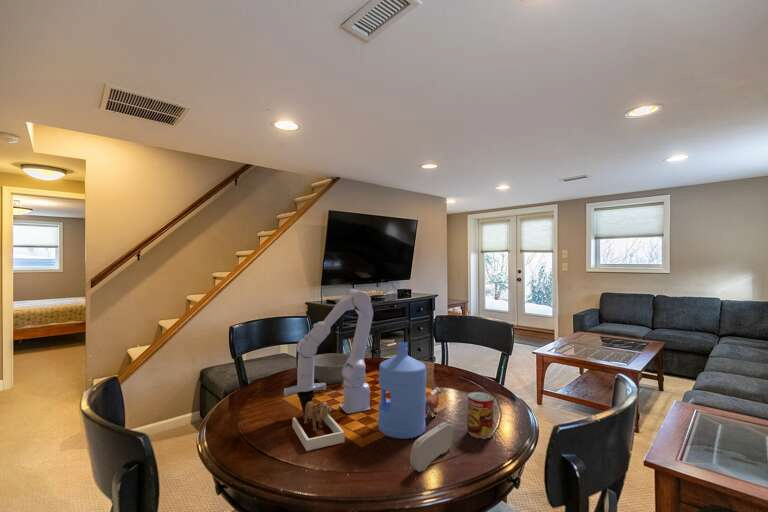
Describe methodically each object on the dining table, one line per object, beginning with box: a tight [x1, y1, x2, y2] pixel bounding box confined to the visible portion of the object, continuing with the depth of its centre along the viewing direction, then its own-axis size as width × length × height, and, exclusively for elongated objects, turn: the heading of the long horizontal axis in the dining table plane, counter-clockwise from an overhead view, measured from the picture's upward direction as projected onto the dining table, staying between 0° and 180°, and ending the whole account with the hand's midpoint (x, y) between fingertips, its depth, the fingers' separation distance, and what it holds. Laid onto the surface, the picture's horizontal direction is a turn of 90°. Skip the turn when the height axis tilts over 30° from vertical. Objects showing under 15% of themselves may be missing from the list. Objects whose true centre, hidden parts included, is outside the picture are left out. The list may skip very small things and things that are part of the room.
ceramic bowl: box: [314, 352, 350, 385], centre depth 165 cm, size 22×23×10 cm
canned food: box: [467, 391, 494, 435], centre depth 116 cm, size 8×8×12 cm
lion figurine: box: [301, 401, 333, 431], centre depth 120 cm, size 15×5×9 cm, turn 46°
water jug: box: [377, 341, 427, 440], centre depth 119 cm, size 16×16×28 cm
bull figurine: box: [425, 387, 443, 419], centre depth 130 cm, size 4×13×8 cm, turn 155°
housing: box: [292, 414, 346, 452], centre depth 113 cm, size 12×17×3 cm
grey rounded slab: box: [409, 421, 454, 473], centre depth 100 cm, size 20×2×8 cm, turn 141°
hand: (305, 412), depth 126 cm, fingers closed
